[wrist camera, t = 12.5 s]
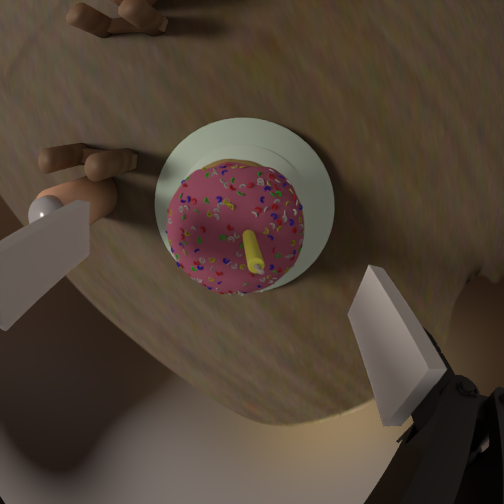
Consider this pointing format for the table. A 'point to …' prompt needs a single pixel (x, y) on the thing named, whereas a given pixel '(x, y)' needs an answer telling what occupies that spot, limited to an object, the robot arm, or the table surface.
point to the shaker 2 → (150, 0)
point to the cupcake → (235, 226)
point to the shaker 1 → (77, 198)
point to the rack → (91, 20)
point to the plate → (264, 153)
